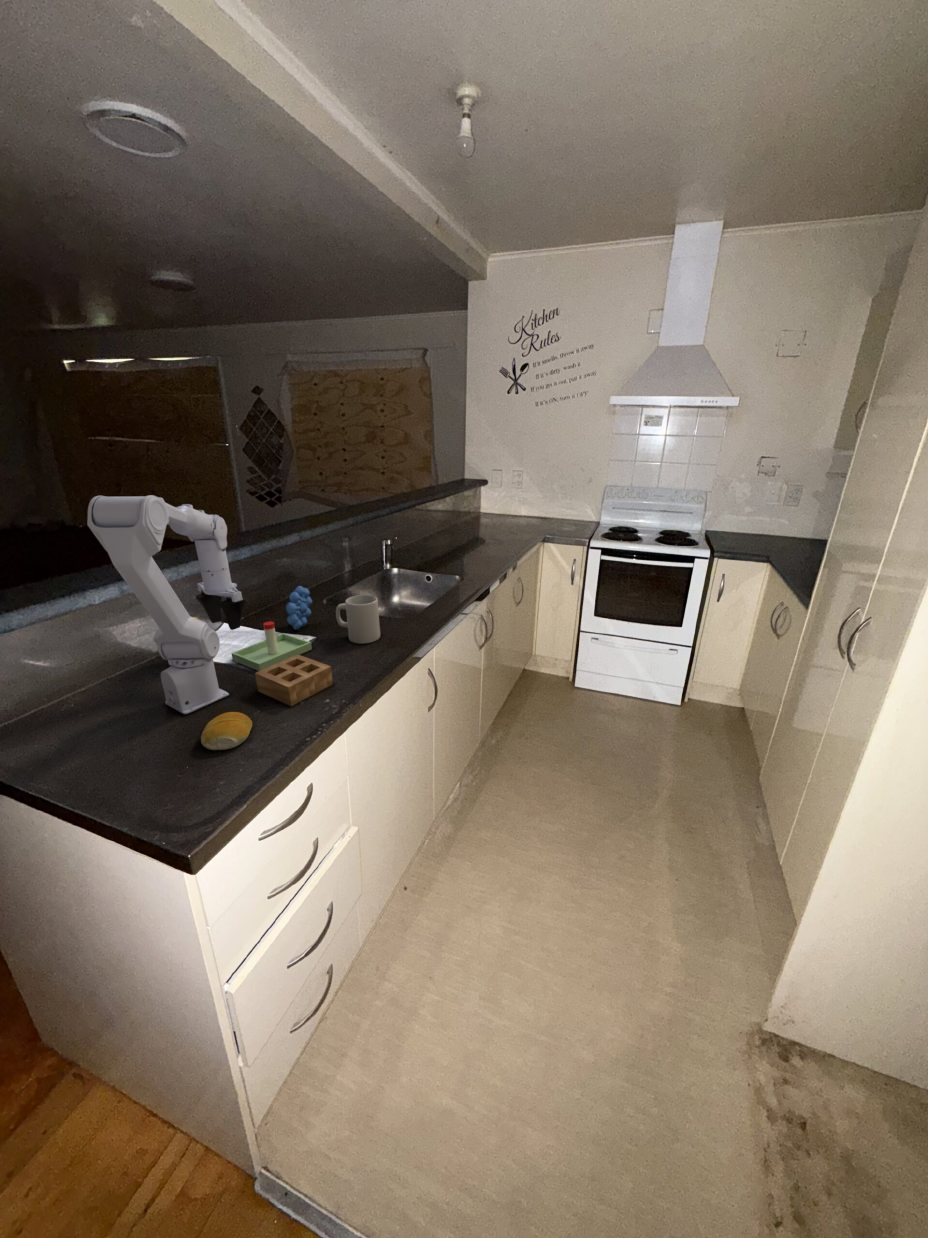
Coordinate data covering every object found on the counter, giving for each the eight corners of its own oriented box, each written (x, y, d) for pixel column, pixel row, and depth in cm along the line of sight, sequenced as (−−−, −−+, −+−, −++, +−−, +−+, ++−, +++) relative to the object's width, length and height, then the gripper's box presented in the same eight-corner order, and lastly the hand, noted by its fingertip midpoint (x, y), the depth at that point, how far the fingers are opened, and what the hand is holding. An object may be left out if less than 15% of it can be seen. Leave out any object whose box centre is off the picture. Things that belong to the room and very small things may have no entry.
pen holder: (291, 706, 99) (288, 687, 98) (257, 691, 105) (254, 673, 103) (333, 684, 108) (331, 666, 106) (300, 671, 114) (297, 654, 112)
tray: (260, 671, 114) (259, 664, 113) (232, 660, 119) (231, 652, 119) (312, 649, 125) (311, 642, 125) (284, 639, 131) (283, 633, 131)
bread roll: (255, 721, 94) (252, 703, 93) (247, 748, 86) (243, 729, 85) (209, 726, 92) (205, 708, 91) (196, 754, 84) (191, 735, 83)
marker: (272, 655, 121) (267, 625, 118) (265, 653, 122) (261, 623, 119) (280, 652, 123) (276, 622, 120) (274, 649, 124) (269, 620, 121)
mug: (385, 632, 136) (382, 595, 132) (373, 645, 128) (370, 605, 124) (345, 629, 138) (341, 593, 134) (331, 641, 130) (327, 602, 126)
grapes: (299, 618, 146) (293, 580, 142) (319, 620, 145) (315, 581, 140) (277, 633, 135) (271, 592, 131) (299, 635, 134) (293, 594, 130)
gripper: (250, 569, 108) (259, 626, 113) (213, 560, 115) (224, 614, 120) (220, 576, 102) (231, 635, 107) (184, 567, 110) (196, 622, 115)
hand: (225, 625), depth 113 cm, fingers open, 7 cm apart
